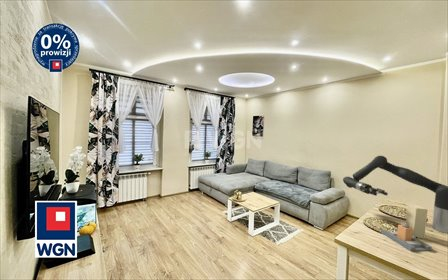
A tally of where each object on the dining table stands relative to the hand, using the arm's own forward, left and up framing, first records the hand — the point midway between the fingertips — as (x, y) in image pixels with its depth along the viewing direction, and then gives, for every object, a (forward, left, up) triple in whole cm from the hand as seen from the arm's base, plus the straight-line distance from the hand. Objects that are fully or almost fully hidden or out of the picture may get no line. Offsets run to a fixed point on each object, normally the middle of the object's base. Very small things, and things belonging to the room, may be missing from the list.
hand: (381, 194), depth 137 cm
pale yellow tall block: (-4, +20, -26) cm, 33 cm away
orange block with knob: (+11, +12, -26) cm, 31 cm away
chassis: (+11, +12, -26) cm, 31 cm away
